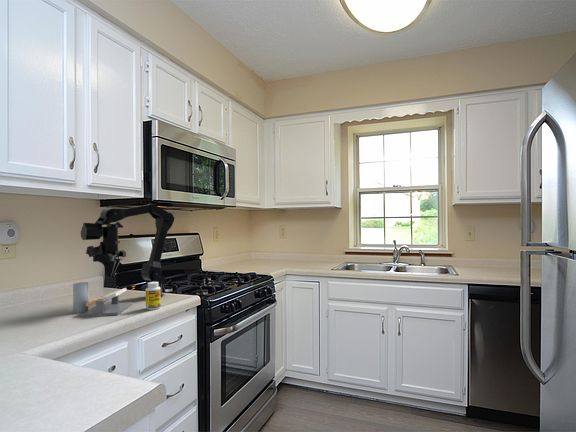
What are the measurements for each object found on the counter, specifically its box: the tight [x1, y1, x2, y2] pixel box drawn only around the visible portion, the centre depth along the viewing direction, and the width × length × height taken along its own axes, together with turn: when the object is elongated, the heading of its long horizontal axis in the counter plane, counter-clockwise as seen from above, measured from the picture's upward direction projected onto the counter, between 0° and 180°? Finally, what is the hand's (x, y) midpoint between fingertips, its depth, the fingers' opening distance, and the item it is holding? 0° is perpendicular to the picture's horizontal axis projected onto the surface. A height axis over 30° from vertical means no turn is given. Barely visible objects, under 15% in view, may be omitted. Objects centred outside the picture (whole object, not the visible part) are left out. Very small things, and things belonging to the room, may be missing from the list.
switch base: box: [79, 295, 134, 318], centre depth 132 cm, size 16×13×6 cm
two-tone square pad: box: [86, 287, 127, 308], centre depth 132 cm, size 12×11×2 cm
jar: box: [72, 281, 89, 315], centre depth 130 cm, size 5×5×11 cm
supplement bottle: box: [145, 282, 162, 311], centre depth 134 cm, size 6×6×10 cm
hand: (110, 276), depth 139 cm, fingers closed
